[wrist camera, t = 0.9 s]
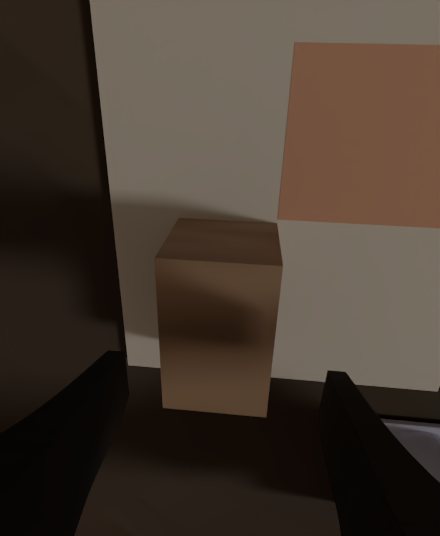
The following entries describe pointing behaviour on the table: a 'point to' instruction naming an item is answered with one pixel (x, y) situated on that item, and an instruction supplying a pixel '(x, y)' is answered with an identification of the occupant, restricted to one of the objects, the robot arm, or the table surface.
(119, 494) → the table surface
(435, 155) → the card mat
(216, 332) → the box
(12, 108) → the table surface
